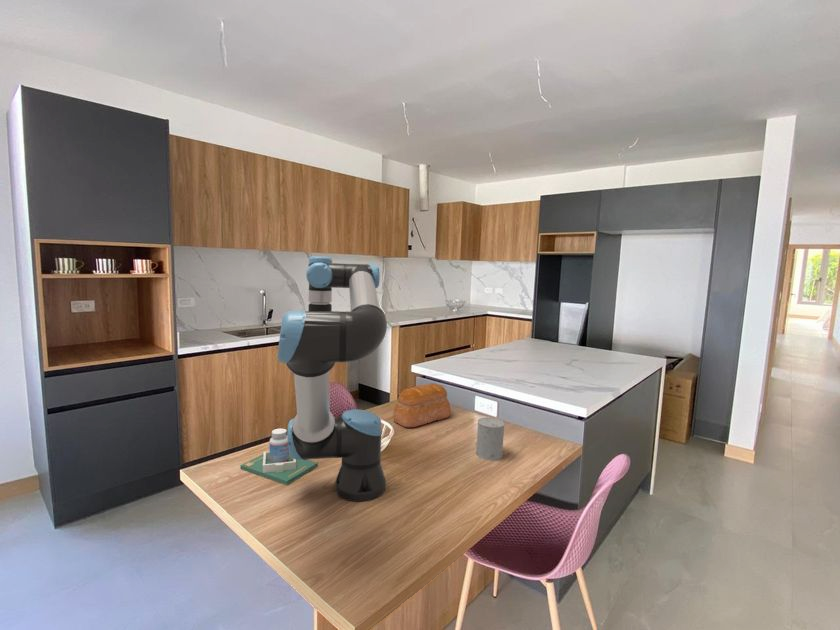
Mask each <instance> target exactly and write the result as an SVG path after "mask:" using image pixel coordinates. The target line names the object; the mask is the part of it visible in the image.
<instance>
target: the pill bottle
mask: <svg viewBox="0 0 840 630" xmlns="http://www.w3.org/2000/svg"><path fill="white" fill-rule="evenodd" d="M287 432H288V429H285V428H276V429H273V430H272V431H271V437H270V438H269V444H268V445H269V464H272V463H282V462H289V449H288V440H287Z"/></svg>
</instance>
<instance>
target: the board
mask: <svg viewBox="0 0 840 630" xmlns="http://www.w3.org/2000/svg"><path fill="white" fill-rule="evenodd" d="M317 467H318V462H316V461H313V460H311V459H308V460H302V459H293V458H292V457H291V455H290V453H289V462H282V463H272V464H269V451H263V453H262V454H260V455H258V456H256V457H254V458H252V459H250V460H248V461H246V462H244V463H242V464H240V470H243V471H246V472H249V473H252V474H255V475H258V476H261V477H263V478H266V479H269V480H272V481H275V482H277V483H281V484H282V485H286V486H288V485H289V484H292V482H294V481H296V480H298V479H300V478H301V477H303V476H304V475H306V474H308V473H309V472H310V471H312V470H314V469H315V468H317Z"/></svg>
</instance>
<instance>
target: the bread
mask: <svg viewBox="0 0 840 630" xmlns="http://www.w3.org/2000/svg"><path fill="white" fill-rule="evenodd" d="M447 397H448V392H447V390H446V389H445V387H444V386H442V385H440V384H437V383H434V382H432V383H431V382H430V383H429V384H419V385H415V386H412V387H410V388H409V387H407V388H404V389H403V390H402V391H401V392H400V393H399V395H398V397H397V401H398V402H397V403H396V404H395V406H394V408H393V417H392V418H393V420H394V423H396V424H397V423H398V425H399V426H402V427H404V428H416V427H419V426H423V425H427V423H428V424H430V423H431V422H437V421H436V420H438V421H441V420H443V419H446V418H449V417H450V415H451V413H452V412H451V411H452V410H451V405H450V402H449V400H448V398H447Z"/></svg>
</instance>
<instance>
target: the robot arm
mask: <svg viewBox="0 0 840 630" xmlns="http://www.w3.org/2000/svg"><path fill="white" fill-rule="evenodd" d="M380 274H381V273H380V268H379V266H378V265H376V264H369V263H366V264H363V263H362V264H361V263H359V264H358V263H333V260H332V258H331V257H330V256H316V255H314V256H310V257H309V258H308V267H307V270H306V274H305V275H306V280H307V282H308V302H309V304H308V311H307V310H305V309H301V310H288V311H286V312H284V314H283V315H282V317H281V325H280V333H279V341H278V347H277V349H278V350H277V351H278V352H277V361H278V362H279V363H283V364H286V367H287V369H288V370H289V371H290V372H291V373H292V374H293V379H294V392H295V403H296V404H295V405H296V415H295V417H294V418H291V419H290V420H289V422H288V424H287V425H288V426H287V434H286V436H287V440H288V449H289V453H290V455H291V457H292V458H293V459H302V460H323V459H339V458H340V459H341V465H340V467H339V470H338V474H337V476H336V479H335V481H334V482H335V483H334V484H335V485H334V486H335V487H334V491H335V493H336V494H337V496H339V497H341V498H342V499H345V500H347V501H353V502H364V501H365V502H366V501H370V500H374V499H376V498H378V497H380V496H381V495H383V494H384V492H385V491H386V485H387V484H386V482H387V481H386V480H387V479H386V477H385V474H384V470H383V467H382V464H381V463H382V462H381V455H382V451H381V450H382V435H383V430H382V420H381V418H380V416H379V415H377V414H376V413H375V412H371V411H369V410H364V409H357V408H356V409H350V410H348V409H347V410H345V411H344V412H343V413H342V415H341V416H334V414H332V412H331V411H330V405H331V404H330V397H331V396H330V395H331V394H330V391H331V389H330V380H331V378H330V377H331V376H330V375H331V374H330V372H331V371H332V370H333V368H334V367H335V365H336V363H352V362H357V361H361V360H362V359H364V358H367V357H368V356H369V355H371V354H373V352H374V351H376V349H378V348H379V347H380V345H381V343H383V340H384V338H385V337H386V334H387V329H388V324H387V323H388V322H387V318H386V315H385V314H386V313H385V312H384V311H383V310H382V309H381V308H380V304H379V303H380V302H379V299H378V294H377V289H378V288H379V286H380V278H381V277H380V276H381V275H380ZM333 288H334V289H335V288H336V289H338V288H341V289H349V303H350V306H349V307H350V311H349V310H347V311H339V310H338V311H337V310H336V311H332V307H333V305H332V304H331V303H332V302H333V301H332V299H333V297H332V296H333V292H332V291H333Z"/></svg>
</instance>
